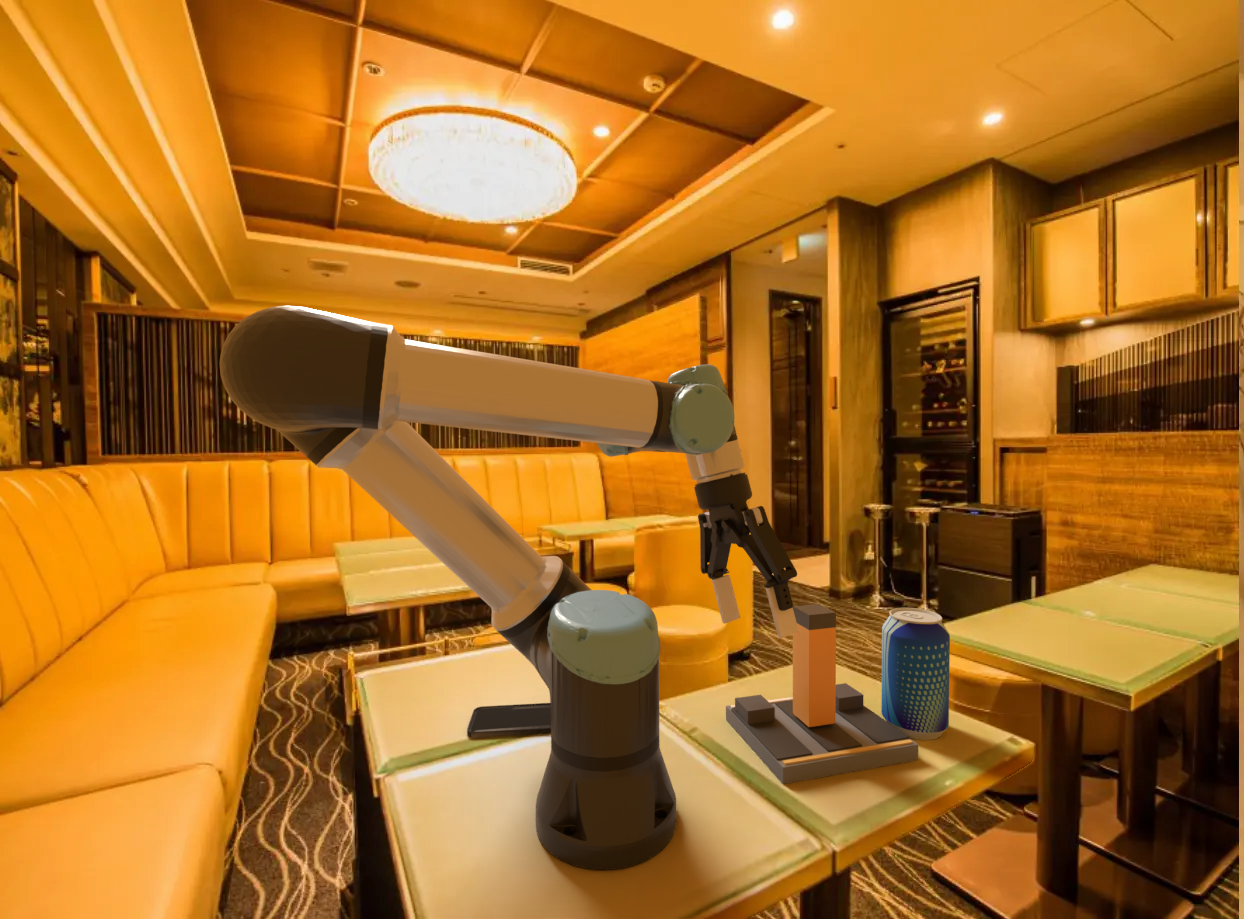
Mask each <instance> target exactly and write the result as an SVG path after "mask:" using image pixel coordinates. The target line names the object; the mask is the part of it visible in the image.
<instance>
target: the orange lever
mask: <svg viewBox="0 0 1244 919" xmlns="http://www.w3.org/2000/svg"><path fill="white" fill-rule="evenodd" d="M793 611H794V615H795V619H796V622H797V626H798V630H799V631H798V632H796V633H793V634H792V697H793V714H794V715H795V716H797V717H798V718H799V719H800V720H801V721H802V722H803V723H805V724H806V725H807V726H808V727H814V726H821V725H827V724H834V723H836V685H837V683H836V680H837V678H836V677H837V675H836V673H837V667H836V666H837V665H836V664H837V662H836V661H837V612H836V611H834V610H832V609H830V608H828V607H826V606H824V605H822V604H819V603H815V604H814V603H813V604H805V605H795V606H793Z"/></svg>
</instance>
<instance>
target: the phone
mask: <svg viewBox="0 0 1244 919" xmlns="http://www.w3.org/2000/svg"><path fill="white" fill-rule="evenodd" d="M531 735H532V736H535V735H551V709H550V702H544V703H543V702H540V703H523V704H519V703H518V704H504V705H503V704H502V705H501V704H500V705H487V706H486V705H484V706H483V705H482V706H477V707H476V708H474V709H473V711H472V714H471V716H470V719H469V723H468V725H467V728H466V736H467V737H468V738H470V739H482V738H484V739H485V738H499V737H515V736H517V737H518V736H531Z"/></svg>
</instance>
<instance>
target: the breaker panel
mask: <svg viewBox="0 0 1244 919" xmlns="http://www.w3.org/2000/svg"><path fill="white" fill-rule="evenodd" d="M725 720H726V722H727V723H728V724H729V725H730V726H731V727H732V728H733V730H735V732H736V733H737V734H738V735H739V736H740V737H741V739H742V740H743V741H744V742H745V743H746V744H747V745H748V746H749V748H750V749H751V750H752V751H753V752H754V753H755V754H756V756H758V757H759V759H760V760H761V761H762V762H763V763H764V765H765V766H767V768H768V770H770V771H771V772H772V774H773V775H775V777H776V778H777V779H778V780H779V781H780V782H781V784H782V785H784V784H790V783H792V784H793V783H797V782H802V781H807V780H813V779H814V780H815V779H819V778H825V777H830V776H835V775H841V774H846V773H853V772H859V771H864V770H869V769H875V768H880V767H885V766H887V767H888V766H892V765H897V764H902V763H903V764H904V763H907V762H915V761H918V760H919V744H918V743H917V742H916V741H915V740H913V739H912V738H910V737H909V736H907V735H906V734H904V733H903V732H901V731H900V730H898V729H897V728H896V727H894V726H893V725H891V724H890V723H888V722H887V721H886V720H885V719H884V717H883V718H882V717H881V716H880V715H878V714H876V712H874V711H873V710H871V709H870V708H868V707H867V706H866V705H864V694H863V693H862V692H860V691H859V690H857V689H855V688H854V687H852V686H851V685H849V684H848V683H845V682H844V683H836V723H834V724H827V725H821V726H814V727H808V726H807V725H806V724H805V723H803V722H802V721H801V720H800V719H799V718H798V717H797V716H795V715H794V714H793V696H791V697H782V698H775V699H766V698H765V697H764V696H763V695H762V694H757V695H747V696H741V697H736V698H734V704H730V705H725Z"/></svg>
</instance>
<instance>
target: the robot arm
mask: <svg viewBox="0 0 1244 919" xmlns="http://www.w3.org/2000/svg"><path fill="white" fill-rule="evenodd" d="M219 371H220V378H221V381H222V384H223V387H224V390H225V391H226V393H227V395H228V396H229V398H230V400H231V401H232V402H233V404H234V405H235V406H236V407H237V408H238V409H239V410H240V411H241V412H242V413H244V414H245V415H247V417H249V418H250V419H251V420H253V421H254V422H257V423H258V424H261V425H263V426H266V427H268V428H271V429H274V430H277V432H278V433H279V434H281V436H283V437H284V438H285V439H286V440H287V441H288V442H290V443H291V444H292V445H293V446H294V447H295V448H296V449H298V450H299V451H300V452H301V453H302V454H303V455H304V456H305V458H307V459H308V460H310V462H311V463H313V465H315V466H316V467H317V468H320V469H321V468H323V469H324V468H325V469H326V468H327V469H339V470H342V471H343V472H344V473H345V474H346V475H348V476H349V477H350V479H352V480H353V481H354V482H355V483H356V484H357V485H358V486H359V487H361V489H363V490H364V492H366V493H367V494H368V495H369V496H370V497H371V498H372V499H373V500H374V501H376V502H377V503H378V504H379V506H381V507H382V508H383V509H384V510H385V511H387V513H389V514H390V516H392V517H393V518H394V519H395V520H396V521H397V522H398V523H400V525H402V526H403V528H405V530H407V531H408V533H410V534H411V535H412V536H413V537H415V539H416V540H418V541H419V542H420V543H421V544H422V545H423V546H424V547H425V548H426V549H427V550H428V551H429V552H430V553H432V554H433V555H434V556H435V557H436V558H437V559H438V560H439V561H440V562H442V564H443V565H444V566H445V567H447V568H448V569H449V570H450V571H451V572H452V573H453V574H454V575H455V576H456V577H458V578H459V580H461V581H462V582H463V583H464V584H465V585H466V587H468V588H469V589H470V590H472V592H474V593H475V594H476V595H477V596H478V597H479V598H480V599H481V600H482V601H483V602H484V603H486V604H487V605H488V606H489V607H490V608H491V627H492V628H493V629H494V630H495V631H496V632H498V633H499V635H501V636H502V637H503V638H504V639H505V640H506V641H507V642H508V643H510V644H511V646H513V647H514V648H515V649H516V650H517V651H518V652H519V654H522V656H524V657H525V659H527V660H528V661H529V663H530V664H531V665H532V666H533V667H534V669H535V670H536V672H537V673H538V674H539V676H540V678H541V679H542V681H543V682H544V684H545V685H546V687H547V688H548V693H549V701H550V702H549V703H550V709H551V734H550V741H551V742H550V754H549V755H548V756H549V758H548V760H547V762H546V767H545V770H544V774H543V777H542V780H541V783H540V787H539V790H538V794H537V796H536V801H535V830H536V834H537V836H538V839H539V841H540V843H541V844H542V846H543V847H544V848H545V849H546V850H547V851H548V852H549V853H550V854H551V855H552V856H554V857H555V858H557V859H559V860H560V861H563V862H565V863H567V864H570V865H572V866H576V867H579V868H584V869H590V870H615V869H617V870H618V869H624V868H628V867H631V866H635V865H638V864H641V863H643V862H644V861H648V860H649V859H651V858H653V857H654V856H656V855H658V853H659V852H661V851H663V849H664V848H665V847H667V845H668V844H669V842H670V841H671V839H672V838H673V836H674V834H675V831H676V828H677V798H676V793H675V790H674V786H673V783H672V780H671V778H670V774H669V772H668V768H667V766H666V762H665V759H664V756H663V753H662V751H661V748H660V747H661V746H660V657H661V656H660V655H661V640H660V639H661V638H660V634H659V629H658V628H659V627H658V620H657V616H656V614H655V612H654V610H653V609H652V608H651V607H650V605H648V604H647V603H646V602H645V601H644V600H642V599H640V598H638V597H636V596H633V595H631V594H628V593H625V594H621V593H620V592H619V591H614V590H607V589H592V588H590V587H589V586H588V585H587V584H586V583H585V582H584V581H583V580H582V579H581V578H580V577H579V576H578V574H576V572H574V571H573V570H572V569H571V568H570V567H569V566H568V565H567V564H566V562H564V561H563V559H561V558H560V557H559V556H556V555H548V556H547V555H546V556H544V555H543V556H541V555H540V554H539V552H537V550H535V549H534V548H533V547H532V546H531V545H530V543H528V541H527V540H525V539H524V537H522V536H521V534H519V533H518V532H517V531H516V529H514V527H513V526H511V525H510V524H509V523H508V522H507V520H505V518H504V517H502V515H500V514H499V513H498V512H497V510H495V508H493V506H491V505H490V503H488V501H487V500H485V499H484V498H483V496H482V495H480V494H479V492H478V491H477V490H475V489H474V487H472V486H471V484H470V483H468V481H466V479H465V478H464V477H463V476H461V475H460V474H459V472H457V471H456V469H455V468H453V467H452V465H450V464H449V462H447V461H446V459H444V457H443V456H441V454H440V453H438V452H437V450H436V449H435V448H433V447H432V445H430V444H429V442H427V440H426V439H425V438H423V437H422V436H421V435H420V434H419V433H418V432H417V430H416V429H415V428H413V426H412V425H410V423H413V424H420V425H431V426H442V427H450V428H457V429H468V430H476V431H485V432H493V433H494V432H495V433H504V434H512V435H514V434H515V435H522V436H529V437H530V436H532V437H541V438H549V439H559V440H567V441H576V442H585V443H592V444H593V443H594V444H595V443H596V444H597V446H598V448H599V449H600V451H601V452H602V454H604V455H605V456H607V457H611V458H612V457H617V456H629V454H632V453H637V452H653V453H654V452H656V453H659V452H660V453H679V454H685V459H686V462H687V465H688V470H689V473H690V477H691V479H692V480H693V481H696V484H694V487H693V489H694V493H695V496H696V500H697V505H698V507H699V509H700V510H703V511H704V510H708V511H706V512H703V513H700V514H698V515H697V520H698V525H699V531H700V532H699V535H700V536H699V538H700V539H699V540H700V542H699V543H700V545H699V546H700V548H699V549H700V571H701V573H702V574H703V575H705V574H707V577H708V578H709V579H710V580H711V583H712V586H713V590H714V594H715V599H716V603H717V605H718V609H719V614H720V617H721V621H722V624H725V625H726V624H729V623H731V622H733V621H735V620H739V619H741V614H740V610H739V606H738V603H737V599H736V594H735V590H734V588H733V584H732V579H731V575H729V573H730V571H729V569H728V568H727V566H728V562H729V557H730V552H731V548H732V544H733V545H736V546H737V547H738V548H742V549H743V550H744V552H745V553H746V555H748V558H750V560H751V561H752V563H753V565H754V566H756V568H757V569H758V571H759V573H760V574H761V575H762V576H763V578H764V579H765V581H766V583H765V586H764V587H765V591H766V595H767V599H768V604H769V608H770V611H771V614H772V619H773V623H774V627H775V630H776V633H777V634H776V635H777V637H778V638H780V639H783V638H786V637H789V636H791V635H793V633H796V632H798V631H799V630H798V626H797V622H796V619H795V615H794V611H793V605H794V604H793V600H792V596H791V592H790V588H789V581H790V580H792V579H793V578H796V577H797V576H798V572H797V569H796V567H795V566H794V563H793V562H792V561H791V558H790V557H789V556H788V553H787V552H786V549H785V548H784V546H783V545H782V542H781V541H780V540H779V537H778V536H777V534H776V532H775V530H774V529H773V527H772V525H771V523H770V521H769V519H768V515H767V513H766V509H765V508H764V506H763V505H759V506H755V507H752V508H749V506H748V504H747V501H748V500H750V499H751V498H752V497H753V491H752V488H751V484H750V481H749V476H748V473H747V474H746V472H742V469H745V462H744V459H743V454H742V450H741V447H740V444H739V440H738V439H739V438H738V435H737V430H736V427H735V409H734V407H733V406H734V405H733V403H732V402H731V399H730V398H729V396H728V390H727V389H726V386H725V384H724V380H723V377H722V375H721V372H720V370H719V368H718V367H717V366H715V365H713V364H708V363H707V364H705V363H704V364H698V365H695V366H692V367H687V368H684V369H680V370H678V371H676V372H675V371H674V372H673V373H672V374H670V375H669V376H668V378H667V382H664V381H657V380H648V379H646V378H645V379H644V378H639V377H633V376H628V375H622V374H617V373H616V374H615V373H610V372H609V373H608V372H604V371H600V370H599V371H598V370H597V371H596V370H593V369H592V370H591V369H586V368H580V367H575V366H568V365H561V364H557V363H556V364H555V363H550V362H544V361H538V360H534V359H533V360H531V359H526V358H519V357H513V356H508V355H503V354H502V355H501V354H498V353H497V354H496V353H492V352H491V353H489V352H483V351H478V350H471V349H467V348H459V347H453V346H448V345H442V344H435V343H432V342H431V343H429V342H424V341H417V340H413V339H412V340H411V339H406V338H405V337H403V336H401V334H400V333H399V332H398V331H397V329H396V328H395V327H394V326H393V325H391V324H386V323H380V322H374V321H368V320H364V319H359V318H355V317H350V316H345V315H342V314H337V313H333V312H332V313H331V312H328V311H325V310H324V311H322V310H319V309H318V310H317V309H313V308H310V307H305V306H296V305H279V306H278V305H277V306H273V307H267V308H264V309H261V310H257V311H256V312H253V313H252V314H250V315H247V316H245V317H244V318H243V319H242V320H241V321H240V322H238V323H237V324H236V325H235V326H234V327H233V328H232V329H231V331H230V332H229V334H228V335H227V336H226V338H225V341H224V342H223V345H222V347H221V351H220V358H219Z"/></svg>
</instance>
